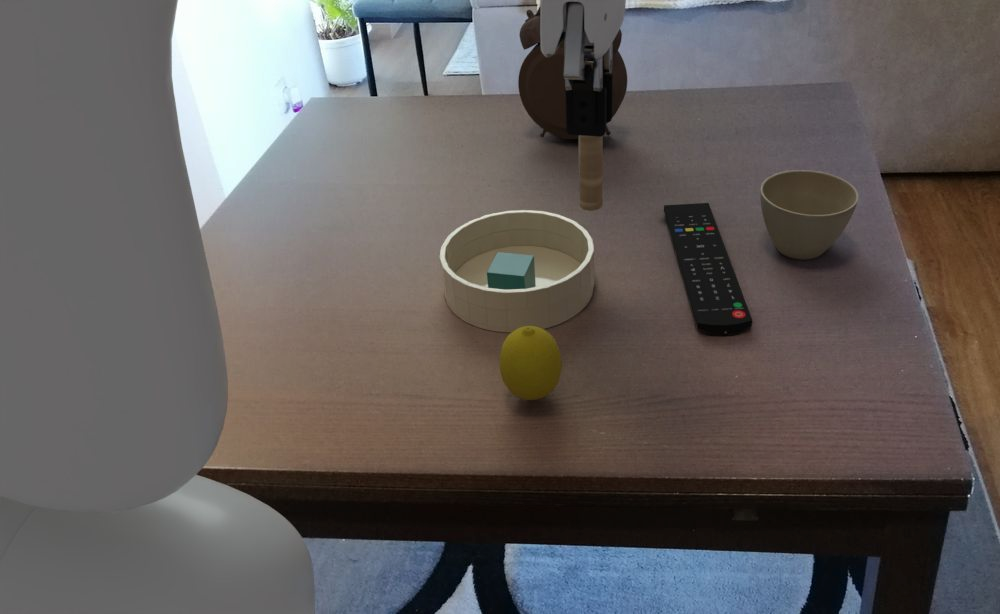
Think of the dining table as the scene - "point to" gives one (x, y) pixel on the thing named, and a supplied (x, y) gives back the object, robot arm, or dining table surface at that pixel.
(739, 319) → the remote control
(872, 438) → the dining table surface
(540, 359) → the lemon
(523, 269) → the block
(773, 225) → the flower pot
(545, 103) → the alarm clock
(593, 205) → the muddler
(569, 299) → the bowl
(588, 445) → the dining table surface
